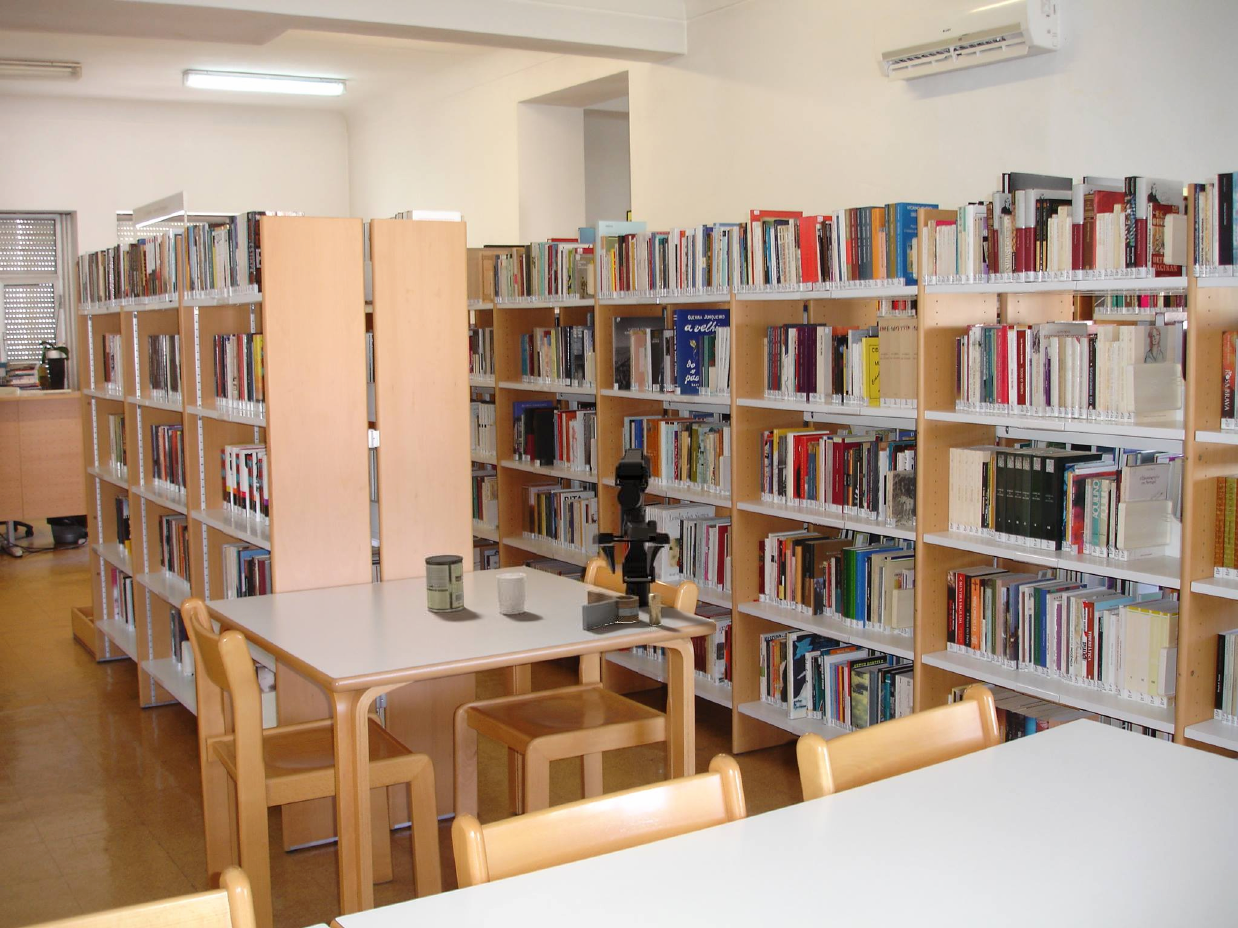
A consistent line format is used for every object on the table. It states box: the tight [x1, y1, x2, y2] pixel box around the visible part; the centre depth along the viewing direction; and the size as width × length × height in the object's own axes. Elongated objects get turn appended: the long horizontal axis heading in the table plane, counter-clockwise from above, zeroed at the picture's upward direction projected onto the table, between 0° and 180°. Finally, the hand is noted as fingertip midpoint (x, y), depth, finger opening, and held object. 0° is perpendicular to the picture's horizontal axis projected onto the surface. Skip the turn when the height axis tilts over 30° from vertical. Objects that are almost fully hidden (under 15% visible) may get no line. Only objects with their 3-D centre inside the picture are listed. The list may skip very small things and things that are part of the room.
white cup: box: [496, 572, 527, 615], centre depth 319 cm, size 8×8×10 cm
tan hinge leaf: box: [586, 589, 640, 622], centre depth 310 cm, size 18×7×6 cm, turn 42°
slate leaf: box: [581, 600, 640, 630], centre depth 303 cm, size 18×7×6 cm, turn 132°
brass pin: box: [648, 592, 662, 625], centre depth 301 cm, size 3×3×8 cm
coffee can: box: [424, 554, 465, 613], centre depth 325 cm, size 10×10×14 cm
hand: (631, 573), depth 293 cm, fingers open, 9 cm apart
